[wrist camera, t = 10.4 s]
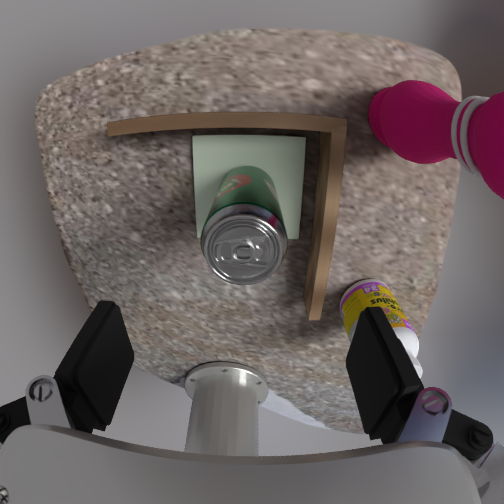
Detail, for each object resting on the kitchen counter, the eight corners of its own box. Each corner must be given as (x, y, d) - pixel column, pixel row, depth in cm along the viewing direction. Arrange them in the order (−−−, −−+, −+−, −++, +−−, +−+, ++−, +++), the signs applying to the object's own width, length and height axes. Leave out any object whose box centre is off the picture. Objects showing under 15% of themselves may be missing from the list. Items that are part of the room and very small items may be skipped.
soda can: (274, 217, 28) (286, 291, 17) (221, 216, 28) (200, 290, 17) (276, 164, 25) (293, 209, 15) (219, 164, 25) (193, 208, 15)
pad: (297, 237, 29) (298, 239, 29) (198, 235, 29) (197, 237, 29) (304, 136, 24) (305, 137, 24) (193, 135, 24) (192, 135, 24)
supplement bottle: (398, 287, 32) (444, 364, 21) (367, 325, 35) (399, 405, 24) (358, 268, 31) (402, 352, 20) (327, 311, 34) (352, 399, 22)
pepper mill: (418, 79, 21) (593, 95, 3) (430, 147, 24) (589, 228, 7) (354, 86, 22) (532, 82, 4) (371, 159, 25) (528, 266, 8)
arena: (313, 297, 33) (319, 319, 29) (148, 292, 33) (138, 314, 29) (334, 117, 23) (347, 119, 20) (126, 119, 23) (107, 122, 20)
